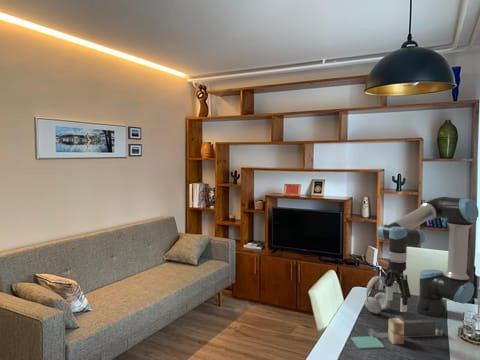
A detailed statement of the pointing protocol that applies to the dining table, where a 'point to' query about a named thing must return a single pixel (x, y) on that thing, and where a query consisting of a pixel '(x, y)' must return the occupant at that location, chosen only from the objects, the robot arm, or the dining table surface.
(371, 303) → the headphones
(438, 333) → the rail
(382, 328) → the dining table surface
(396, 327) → the beech block
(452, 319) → the dining table surface
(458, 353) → the dining table surface
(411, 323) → the grey l-shaped block
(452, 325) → the dining table surface
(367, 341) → the pad
